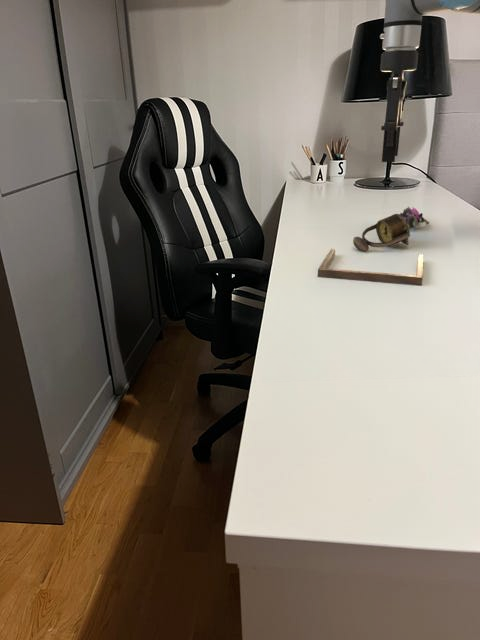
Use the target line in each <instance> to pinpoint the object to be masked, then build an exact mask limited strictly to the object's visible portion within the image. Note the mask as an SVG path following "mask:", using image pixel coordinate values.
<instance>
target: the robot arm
mask: <svg viewBox="0 0 480 640" xmlns="http://www.w3.org/2000/svg"><path fill="white" fill-rule="evenodd" d="M384 7H385V8H384V21H383V22H384V23H383V33H380V35H379V38H380V39H381V40H382V47H381V49H382V50H384V52H382V54H381V55H380V68H379V69H380V71H381V72H383V73H391V75H390V77H389V79H388V81H386V109H385V118H384V123H383V125H381V127H380V130H381V131H384V132H383V143H382V154H381V163H395V161H396V157H398V156H399V155H398V154H399V146H400V145H399V144H400V136H401V127H404V121H403V120H402V112H403V101H405V97H406V96H405V94H406V90H407V84H408V80H406V78H405V77H404V76H405V72H413V71H416V70H417V67H418V58H419V52H418V50H417V49H418V48H419V47H420V44H421V43H420V42H421V33H422V21H423V16H424V15H425V16H426V15H429V14H437V13H457V14H471V15H480V0H385V6H384Z"/></svg>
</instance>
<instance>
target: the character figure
mask: <svg viewBox="0 0 480 640" xmlns="http://www.w3.org/2000/svg"><path fill="white" fill-rule="evenodd" d="M399 214H400V215H401V216H402V217H404V219H405V220H406V222H407V224H408V226H409V229H410V228H411V229H414V228H416V227H417V225H418V224H419V223H420V224H421V223H422V224H423V223H425V226H428V225H430V221H428V220H427V219H425V218H424V217H423V215H424V213H423V212H421V213H419V211H418V209H417V208H415V207H414V206H412V207H410V206H407V207H406V208H404V209H403V211H402V212H400V213H399Z"/></svg>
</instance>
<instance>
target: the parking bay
mask: <svg viewBox="0 0 480 640" xmlns="http://www.w3.org/2000/svg"><path fill="white" fill-rule="evenodd" d="M335 256H336V248H330V250H329V251H328V253H327V254H326V256H325V258H324V259H323V261H322V262H321V264H320V266H319V267H318V268H317V277H318V278H327V279H329V278H330V279H338V280H339V279H341V280H351V281H364V282H365V281H366V282H376V283H387V284H400V285H411V286H422V285H423V277H424V276H423V275H424V254H418V255H417V265H416V275H413V274H401V273H391V272H390V273H389V272H388V273H387V272H375V271H364V270H362V271H361V270H350V269H339V268H329V267H330V265H331V264H332V263H333V260H334V258H335Z"/></svg>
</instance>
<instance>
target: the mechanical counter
mask: <svg viewBox="0 0 480 640" xmlns="http://www.w3.org/2000/svg"><path fill="white" fill-rule="evenodd" d="M373 230H375V232H376V235H377V238H378V240H379V241H380V242H373V241H370V240H369V239H367V238H366V237H365V236H366V235H367V234H368V233H369V232H371V231H373ZM410 236H411V232H410V226H408V224H407V222H406V220H405V219H404V217H402V216H401V215H400V213H394V214H391V215H389V216H387V217H384V218H382V219H379V220H378V221H377V222H376V223H375V224H372V225H370V226H368V227H367V228H366V229H364V230H363V231H362V233H361V237H360V236H354V237H353V239H352V244H353V246H354V248H356V249H357V250H359V251H363V252H366V251H368V250H369V249H370V247H372V248H385V247H387V248H390V247H392V246H395V245H397V244H399V243H402V244H403V245H404V246H407V247H408V246H409V241H410V240H409V239H410Z"/></svg>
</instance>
